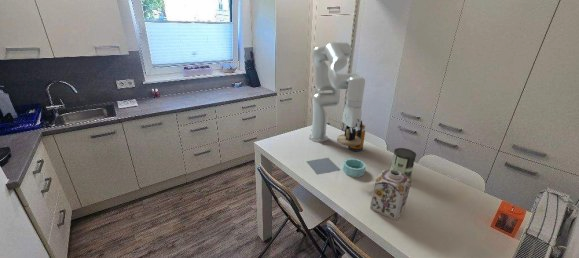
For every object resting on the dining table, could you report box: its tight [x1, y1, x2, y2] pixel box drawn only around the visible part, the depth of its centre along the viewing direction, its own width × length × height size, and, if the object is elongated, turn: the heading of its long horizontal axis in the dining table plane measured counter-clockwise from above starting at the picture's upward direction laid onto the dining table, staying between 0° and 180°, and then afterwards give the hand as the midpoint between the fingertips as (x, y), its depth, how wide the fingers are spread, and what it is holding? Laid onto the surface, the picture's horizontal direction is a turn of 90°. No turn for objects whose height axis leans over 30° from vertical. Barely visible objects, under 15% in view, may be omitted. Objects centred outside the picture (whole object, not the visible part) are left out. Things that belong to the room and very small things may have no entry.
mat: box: [306, 157, 341, 175], centre depth 138 cm, size 14×14×1 cm
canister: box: [347, 120, 366, 152], centre depth 154 cm, size 9×11×20 cm
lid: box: [336, 128, 361, 147], centre depth 126 cm, size 12×12×6 cm
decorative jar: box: [369, 169, 412, 222], centre depth 104 cm, size 12×12×18 cm
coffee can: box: [390, 147, 417, 180], centre depth 128 cm, size 10×10×14 cm
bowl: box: [342, 158, 366, 178], centre depth 132 cm, size 11×11×5 cm
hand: (349, 137), depth 127 cm, fingers closed on lid, 3 cm apart
